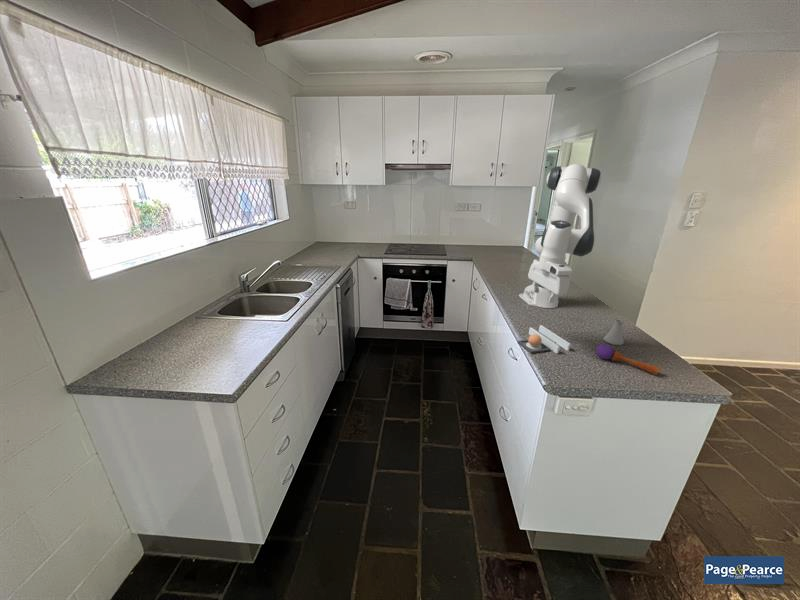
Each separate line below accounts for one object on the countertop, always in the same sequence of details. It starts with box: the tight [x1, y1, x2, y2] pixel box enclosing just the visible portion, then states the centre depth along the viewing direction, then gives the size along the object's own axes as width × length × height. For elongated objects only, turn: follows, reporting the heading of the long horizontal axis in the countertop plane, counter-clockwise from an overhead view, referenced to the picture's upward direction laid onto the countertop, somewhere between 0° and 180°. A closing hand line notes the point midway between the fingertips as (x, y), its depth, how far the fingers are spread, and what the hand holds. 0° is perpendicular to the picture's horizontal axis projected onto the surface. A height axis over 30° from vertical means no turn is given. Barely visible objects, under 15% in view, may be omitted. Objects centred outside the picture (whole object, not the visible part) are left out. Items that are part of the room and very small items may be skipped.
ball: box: [527, 334, 541, 347], centre depth 132 cm, size 5×5×5 cm
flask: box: [602, 318, 625, 346], centre depth 137 cm, size 7×7×10 cm
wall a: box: [538, 324, 572, 352], centre depth 139 cm, size 18×1×3 cm, turn 15°
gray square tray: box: [517, 339, 552, 354], centre depth 133 cm, size 9×9×1 cm
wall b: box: [528, 327, 561, 354], centre depth 136 cm, size 18×1×3 cm, turn 15°
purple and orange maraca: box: [595, 343, 661, 376], centre depth 121 cm, size 6×6×20 cm
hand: (542, 296), depth 131 cm, fingers open, 8 cm apart
